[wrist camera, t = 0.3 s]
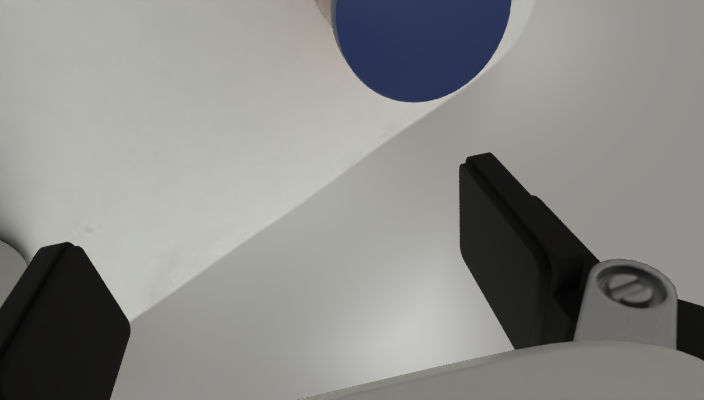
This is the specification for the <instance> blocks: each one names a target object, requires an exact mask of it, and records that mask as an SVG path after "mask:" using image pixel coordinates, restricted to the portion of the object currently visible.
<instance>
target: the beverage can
mask: <svg viewBox="0 0 704 400" xmlns="http://www.w3.org/2000/svg"><path fill="white" fill-rule="evenodd" d="M26 268H27V264H26V262H25V261H24V259H23V258H22V256H21V255H20V254H19V253H18V252H17V251H16V250H15V249H13V248H12V247H11V246H9V245H8V244H6V243H5V242H3V241H1V240H0V308H1V306H2V305H3V303H4V302H5V300H6V298H7V297H8V295H9V294H10V292H11V291H12V289H13V288H14V286H15V285H16V283H17V282H18V280H19V279H20V277H21V276H22V274H23V273H24V271H25V270H26Z"/></svg>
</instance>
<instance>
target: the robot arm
mask: <svg viewBox="0 0 704 400" xmlns="http://www.w3.org/2000/svg"><path fill="white" fill-rule="evenodd" d="M459 196H460V197H459V199H460V250H461V254H462V257H463V259H464V261H465V263H466V265H467V266H468V268H469V269H470V272H471V273H472V275H473V277H474V279H475V280H476V282H477V284H478V286H479V287H480V289H481V291H482V293H483V294H484V296H485V298H486V300H487V301H488V303H489V305H490V307H491V308H492V310H493V312H494V314H495V315H496V317H497V319H498V321H499V322H500V324H501V326H502V327H503V329H504V331H505V333H506V335H507V336H508V338H509V340H510V342H511V343H512V345H513V347H514V349H515V350H512V351H508V352H503V353H499V354H494V355H489V356H485V357H480V358H476V359H471V360H466V361H462V362H457V363H452V364H448V365H443V366H439V367H435V368H430V369H426V370H422V371H418V372H413V373H409V374H405V375H400V376H396V377H392V378H388V379H384V380H379V381H375V382H371V383H366V384H362V385H358V386H353V387H349V388H345V389H341V390H336V391H332V392H328V393H324V394H320V395H315V396H311V397H307V398H303V399H298V400H704V307H703V306H700V305H696V304H693V303H690V302H686V301H683V300H680V299H677V292H676V288H675V286H674V285H673V283H672V282H671V281H670V279H669V278H668V277H666V276H665V275H664V274H663V273H661V272H660V271H658V270H657V269H655V268H653V267H651V266H649V265H647V264H643V263H640V262H637V261H633V260H626V259H612V260H606V261H603V262H600V261H599V260H598V259H597V258H596V257H595V256H594V255H593V254H592V253H591V252H590V251H589V250H588V249H587V248H586V247H585V245H584V244H583V243H582V242H581V241H580V240H579V239H578V238H577V237H576V236H575V235H574V234H573V233H572V232H571V231H570V230H569V229H568V228H567V227H566V226H565V225H564V224H563V222H562V221H561V220H559V218H558V217H557V216H556V215H555V214H554V213H553V212H552V211H551V210H550V209H549V208H548V207H547V206H546V205H545V204H544V203H543V201H542V200H540V199H539V198H538V197H537V196H533V195H532V196H531V195H530V194H529V192H528V191H527V190H526V189H525V188H524V187H523V186H522V185H521V184H520V183H519V182H518V181H517V180H516V179H515V178H514V176H512V174H511V173H510V172H509V171H508V170H507V169H506V168H505V167H504V166H503V165H502V164H501V163H500V161H499V160H498V159H497V158H496V157H495V156H494V155H493V154H492V153H484V154H479V155H474V156H470V157H467V159H466V163H464V164H461V165H460V167H459ZM129 337H130V324H129V321H128V319H127V318H126V316H125V314H124V313H123V311H122V310H121V308H120V307H119V305H118V303H117V302H116V300H115V299H114V297H113V296H112V294H111V292H110V291H109V289H108V288H107V286H106V285H105V283H104V281H103V280H102V278H101V277H100V275H99V274H98V272H97V270H96V269H95V267H94V266H93V264H92V262H91V261H90V259H89V258H88V256H87V255H86V253H85V251H84V250H83V249H82V248H81V247H80V246H74V245H73V244H72V243H70V242H64V243H60V244H55V245H50V246H46V247H42V248H40V249H39V250H38V251H37V253H36V254H35V256H34V257H33V259H32V260H31V262H30V264H29V265H28V267H27V268H26V270H25V271H24V273H23V274H22V276H21V277H20V279H19V280H18V282H17V283H16V285H15V286H14V288H13V289H12V291H11V292H10V294H9V295H8V297H7V298H6V300H5V302H4V303H3V305H2V306H1V308H0V400H110V397H111V394H112V391H113V387H114V384H115V381H116V378H117V375H118V372H119V369H120V365H121V362H122V359H123V356H124V353H125V349H126V346H127V343H128V340H129Z"/></svg>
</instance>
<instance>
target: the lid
mask: <svg viewBox="0 0 704 400" xmlns="http://www.w3.org/2000/svg"><path fill="white" fill-rule="evenodd" d="M510 7H511V0H331V23H332V28H333V33H334V36H335V40H336V43H337V45H338V47H339V49H340V52H341V54H342V55H343V57H344V58H345V60H346V62H347V63H348V65H349V66H350V68H351V69H352V71H353V72H354V73H355V75H356V76H357V77H358V78H359V79H360V80H361V81H362V82H363V83H364V84H365V85H366V86H367V87H369V88H370V89H372V90H373V91H375V92H376V93H378V94H380V95H382V96H384V97H386V98H390V99H393V100H396V101H402V102H425V101H430V100H434V99H438V98H441V97H443V96H446V95H448V94H450V93H452V92H454V91H456V90H458V89H459V88H461V87H462V86H464V85H465V84H467V83H468V82H469V81H470V80H472V79H473V78H474V77H475V76H476V75H477V74H478V73H479V72H480V71H481V70H482V69H483V68H484V67H485V65H486V64H487V63H488V61H489V60H490V59H491V57H492V56H493V54H494V53H495V51H496V49H497V47H498V45H499V43H500V41H501V39H502V37H503V34H504V32H505V29H506V26H507V22H508V18H509V14H510Z"/></svg>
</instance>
